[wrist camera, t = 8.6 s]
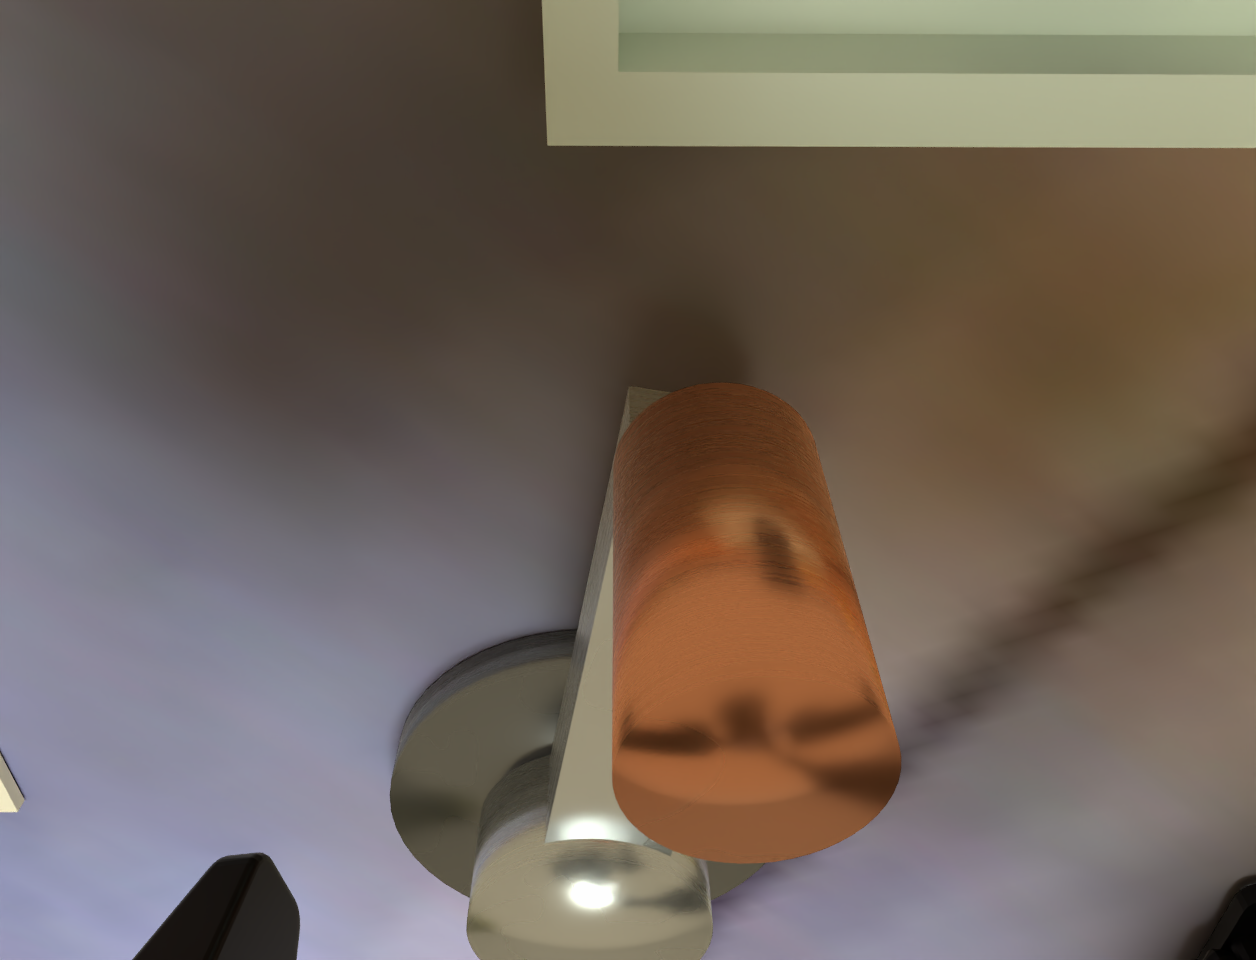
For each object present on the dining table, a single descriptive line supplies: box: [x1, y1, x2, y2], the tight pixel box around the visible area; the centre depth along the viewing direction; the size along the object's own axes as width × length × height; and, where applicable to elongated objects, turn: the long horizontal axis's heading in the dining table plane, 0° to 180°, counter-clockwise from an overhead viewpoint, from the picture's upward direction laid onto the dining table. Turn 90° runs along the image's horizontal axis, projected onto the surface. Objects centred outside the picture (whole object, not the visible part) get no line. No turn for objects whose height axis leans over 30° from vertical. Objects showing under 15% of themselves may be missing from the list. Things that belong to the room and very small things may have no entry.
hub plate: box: [390, 630, 765, 900], centre depth 21 cm, size 8×8×1 cm
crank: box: [467, 383, 901, 960], centre depth 15 cm, size 14×4×7 cm, turn 170°
